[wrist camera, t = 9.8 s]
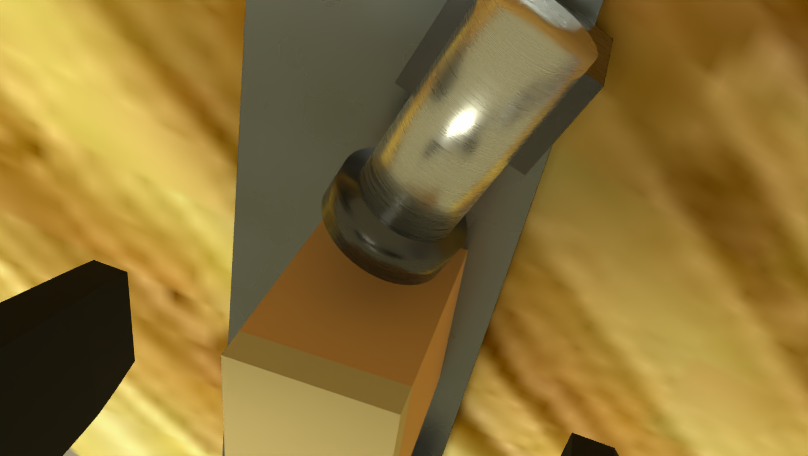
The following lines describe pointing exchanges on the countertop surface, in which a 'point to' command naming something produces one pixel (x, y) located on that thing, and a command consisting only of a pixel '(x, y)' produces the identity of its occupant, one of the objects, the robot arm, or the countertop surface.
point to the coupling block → (337, 359)
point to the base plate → (335, 141)
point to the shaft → (463, 129)
